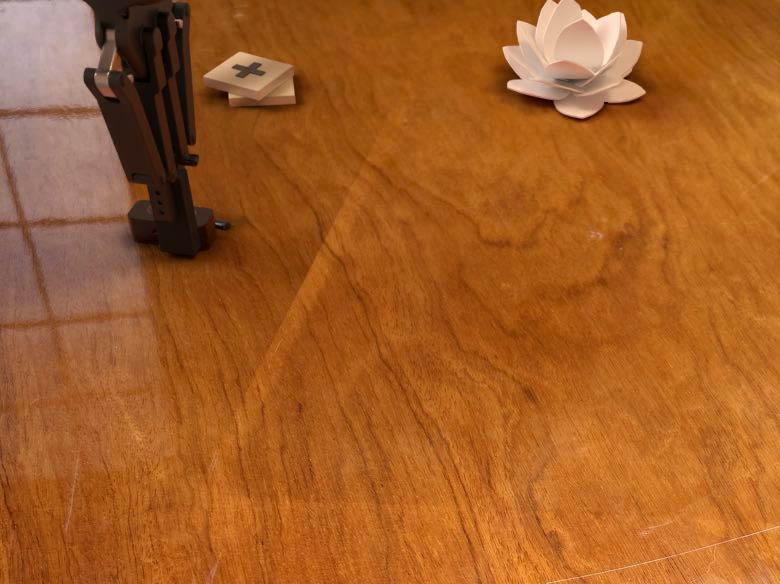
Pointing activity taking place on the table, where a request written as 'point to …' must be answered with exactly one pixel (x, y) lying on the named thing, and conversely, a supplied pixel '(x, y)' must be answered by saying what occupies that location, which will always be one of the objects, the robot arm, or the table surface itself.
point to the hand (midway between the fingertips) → (181, 248)
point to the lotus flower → (574, 59)
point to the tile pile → (253, 81)
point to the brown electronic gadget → (146, 229)
